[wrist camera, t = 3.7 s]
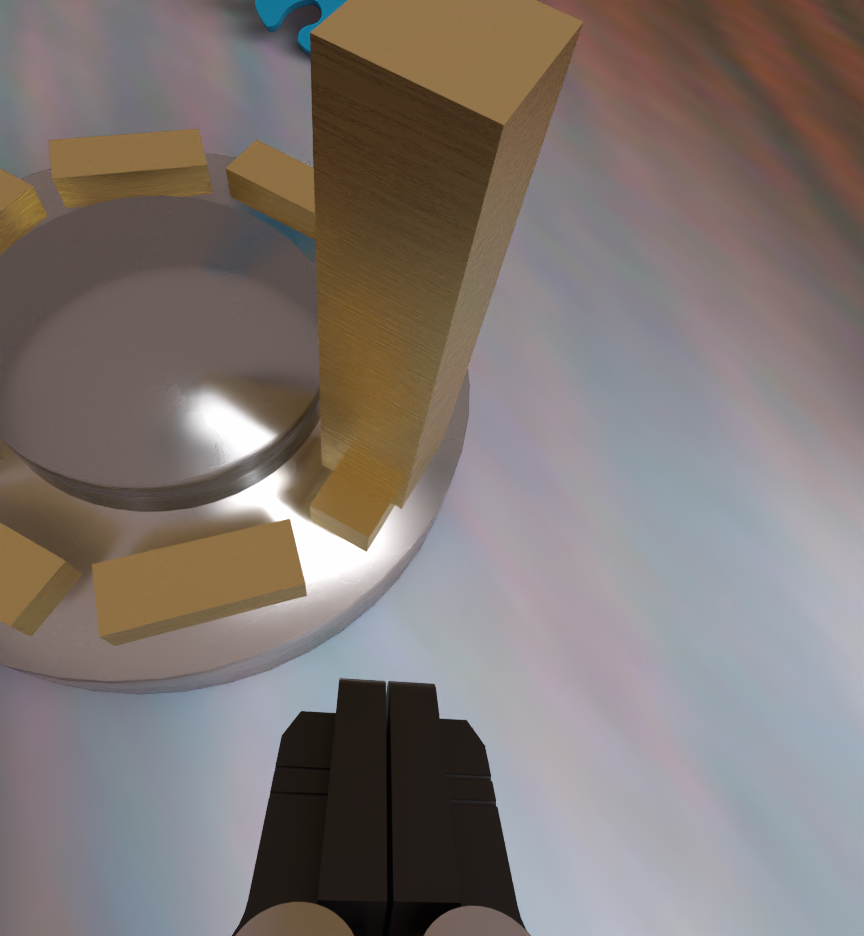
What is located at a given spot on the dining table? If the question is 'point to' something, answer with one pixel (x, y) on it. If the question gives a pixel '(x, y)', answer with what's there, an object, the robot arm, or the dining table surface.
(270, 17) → the blue lobed toy
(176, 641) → the grey round piece
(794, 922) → the dining table surface
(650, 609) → the dining table surface
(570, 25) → the peg on ring base
